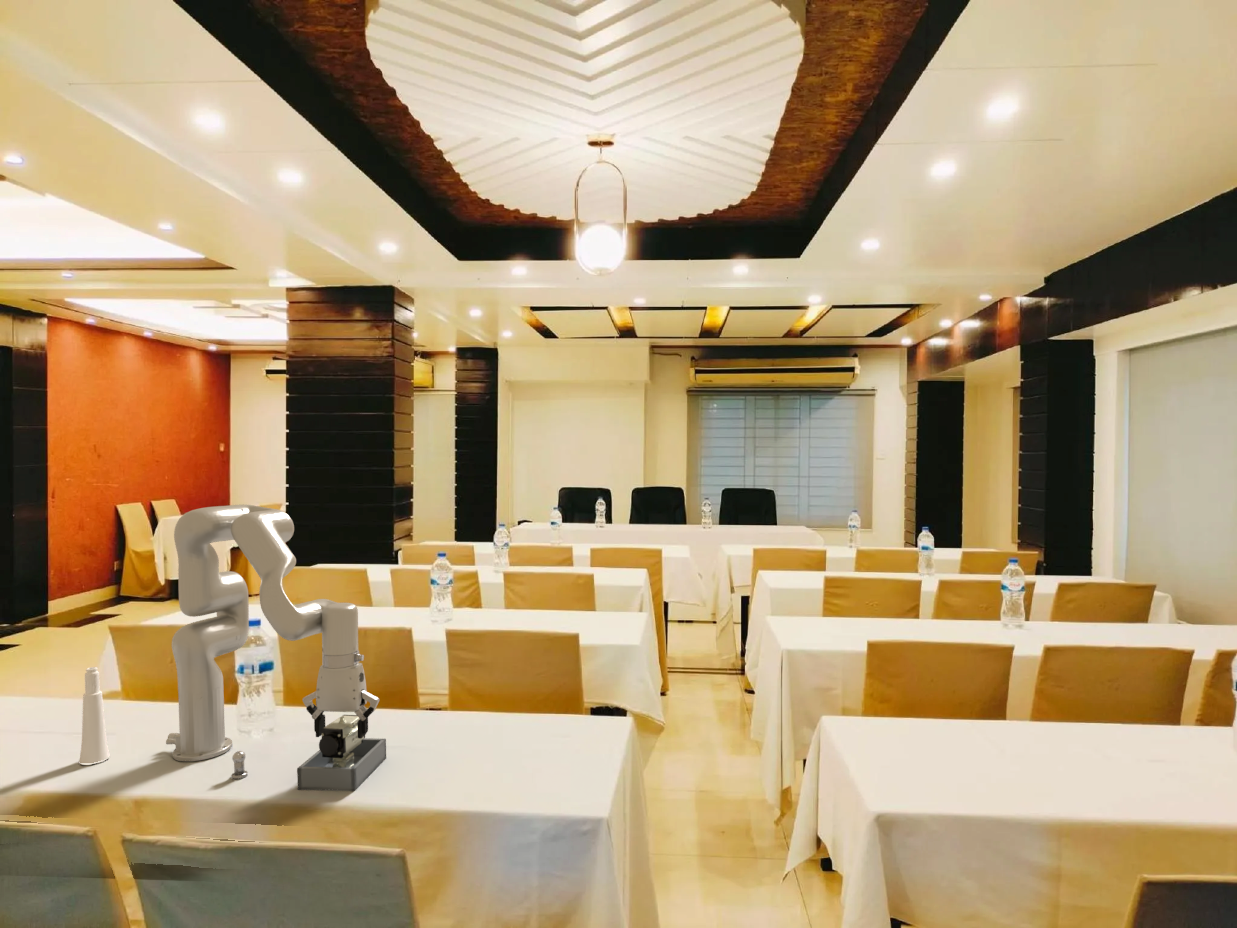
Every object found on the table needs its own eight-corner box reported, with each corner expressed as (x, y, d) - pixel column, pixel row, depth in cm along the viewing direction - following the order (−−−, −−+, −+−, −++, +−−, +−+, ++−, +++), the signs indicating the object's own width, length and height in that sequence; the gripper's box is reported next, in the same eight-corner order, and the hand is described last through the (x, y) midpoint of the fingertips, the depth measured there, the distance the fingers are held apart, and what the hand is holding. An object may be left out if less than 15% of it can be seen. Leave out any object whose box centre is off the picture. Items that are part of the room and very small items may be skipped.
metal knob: (228, 779, 162) (227, 754, 162) (237, 773, 165) (236, 748, 165) (242, 779, 162) (241, 754, 162) (250, 773, 165) (249, 748, 165)
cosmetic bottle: (109, 761, 173) (106, 669, 172) (77, 768, 170) (74, 673, 169) (111, 753, 178) (108, 663, 178) (80, 758, 175) (77, 667, 175)
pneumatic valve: (319, 781, 159) (317, 726, 158) (348, 758, 170) (346, 707, 170) (342, 782, 158) (341, 727, 157) (370, 760, 169) (368, 708, 169)
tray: (297, 789, 156) (297, 768, 156) (334, 757, 173) (334, 737, 173) (354, 790, 155) (354, 769, 155) (386, 758, 172) (385, 738, 172)
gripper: (384, 655, 167) (385, 730, 167) (311, 653, 168) (312, 727, 168) (370, 665, 159) (371, 743, 159) (294, 663, 161) (295, 740, 161)
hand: (341, 735), depth 164 cm, fingers open, 9 cm apart
